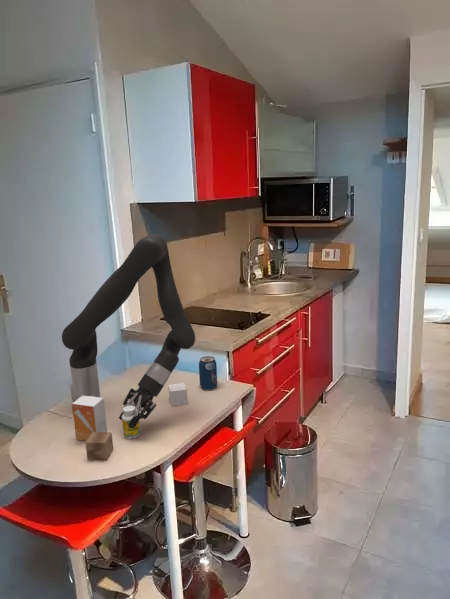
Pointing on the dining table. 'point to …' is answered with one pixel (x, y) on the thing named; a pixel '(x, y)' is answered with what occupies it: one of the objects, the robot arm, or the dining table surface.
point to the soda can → (208, 373)
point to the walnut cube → (99, 446)
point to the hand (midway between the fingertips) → (125, 423)
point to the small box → (89, 416)
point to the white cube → (177, 394)
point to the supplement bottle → (126, 418)
